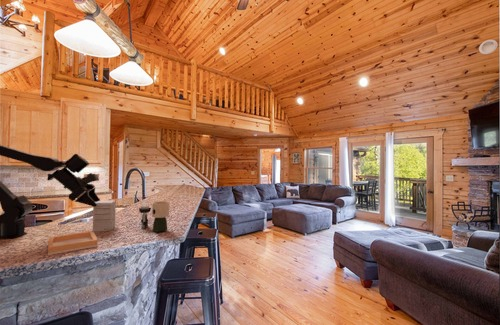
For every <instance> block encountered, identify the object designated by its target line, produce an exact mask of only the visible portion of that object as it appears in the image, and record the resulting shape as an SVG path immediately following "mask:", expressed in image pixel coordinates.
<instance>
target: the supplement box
mask: <svg viewBox="0 0 500 325" xmlns="http://www.w3.org/2000/svg"><path fill="white" fill-rule="evenodd" d="M95 203H96V204H97V206H95V207H94V206H92V207H93V208H92V231H93V232H107V231H109V230H110V231H112V230H113V229H114V228H115V227H116V208H117V207H116V200H115V199H114V200H111V199H110V200H109V199H108V200H101V201H97V202H95Z"/></svg>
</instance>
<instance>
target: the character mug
mask: <svg viewBox="0 0 500 325" xmlns="http://www.w3.org/2000/svg"><path fill="white" fill-rule="evenodd" d="M151 204H152V206H151V217H152V218H154V220H153V224H152V232H156V233H158V232H159V233H161V232H163V231H167V230H168V224H167V223H168V222H167V221H168V220H167V217H168V216H169V215H170V202H169V201H164V200H163V201H160V200H159V201H154V202H152V203H151Z"/></svg>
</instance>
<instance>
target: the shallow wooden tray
mask: <svg viewBox="0 0 500 325" xmlns="http://www.w3.org/2000/svg"><path fill="white" fill-rule="evenodd" d="M98 245H99V244H98V238H97V236H96V234H95V231H93V230H92V231H91V230H90V231H82V232H77V233H69V234H63V235H56V236H55V235H54V236H49V237H48V248H47V249H48V250H47V256H51V255H57V254H60V253H61V254H62V253H68V252H73V251H78V250H83V249H89V248H94V247H98Z"/></svg>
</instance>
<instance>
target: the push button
mask: <svg viewBox="0 0 500 325" xmlns="http://www.w3.org/2000/svg"><path fill="white" fill-rule="evenodd" d="M151 210H152V207H150V205H142V206H140V207H139V208H138V212H139V213H140V214H142V218H141V219H140V223H141V229H147V227H149V223H148V222H149V219H148V215H147V214H148V213H150V212H151Z"/></svg>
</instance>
